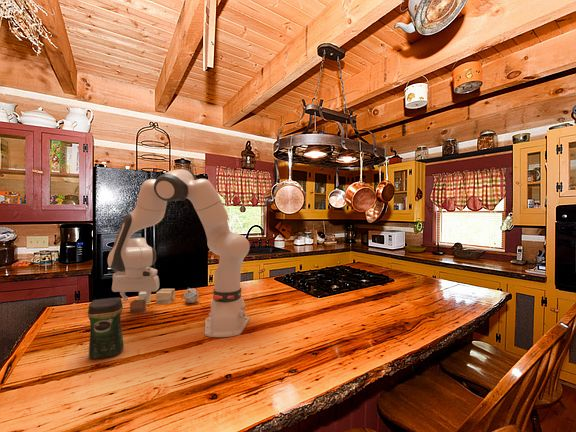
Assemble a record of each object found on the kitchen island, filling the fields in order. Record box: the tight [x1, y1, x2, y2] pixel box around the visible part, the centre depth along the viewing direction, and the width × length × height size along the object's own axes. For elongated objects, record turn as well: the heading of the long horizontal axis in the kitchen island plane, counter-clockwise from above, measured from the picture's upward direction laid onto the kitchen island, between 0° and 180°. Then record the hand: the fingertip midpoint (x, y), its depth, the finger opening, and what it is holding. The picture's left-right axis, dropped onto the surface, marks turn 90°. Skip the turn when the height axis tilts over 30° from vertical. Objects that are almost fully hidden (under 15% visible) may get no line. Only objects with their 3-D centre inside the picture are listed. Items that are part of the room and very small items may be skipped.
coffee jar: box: [87, 296, 124, 360], centre depth 91 cm, size 10×8×19 cm
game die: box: [181, 286, 201, 305], centre depth 140 cm, size 9×8×10 cm
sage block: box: [138, 292, 152, 304], centre depth 142 cm, size 5×5×5 cm
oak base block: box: [155, 288, 176, 305], centre depth 142 cm, size 7×7×6 cm
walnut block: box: [129, 299, 147, 314], centre depth 128 cm, size 5×5×5 cm
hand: (135, 300), depth 127 cm, fingers open, 8 cm apart
